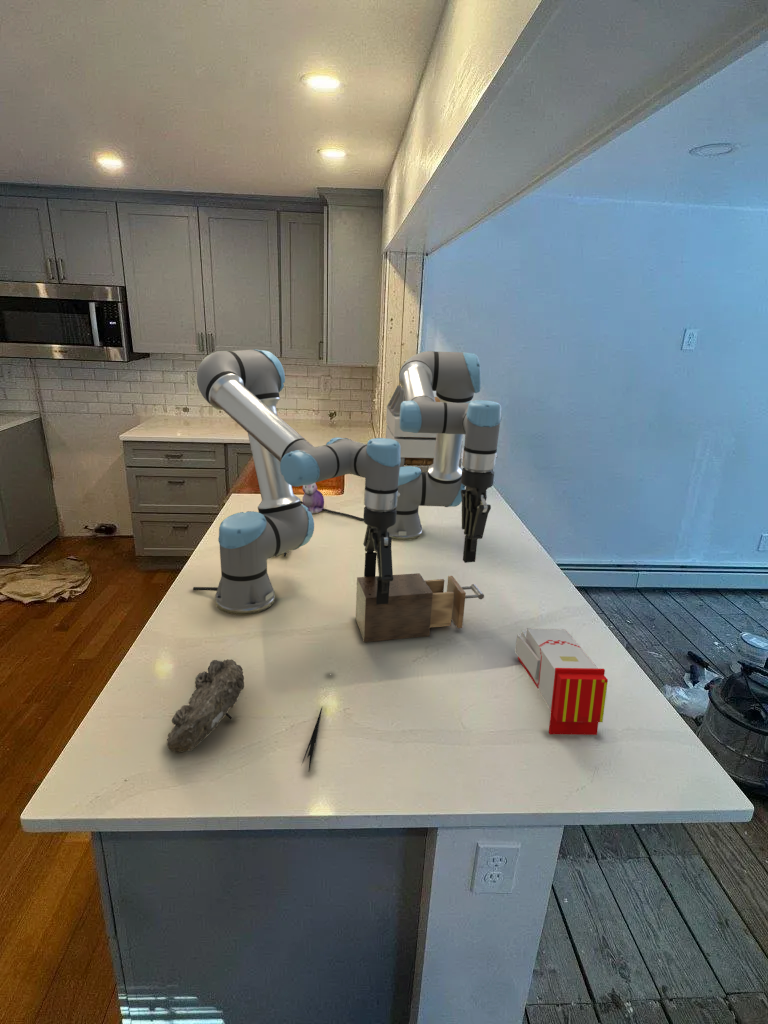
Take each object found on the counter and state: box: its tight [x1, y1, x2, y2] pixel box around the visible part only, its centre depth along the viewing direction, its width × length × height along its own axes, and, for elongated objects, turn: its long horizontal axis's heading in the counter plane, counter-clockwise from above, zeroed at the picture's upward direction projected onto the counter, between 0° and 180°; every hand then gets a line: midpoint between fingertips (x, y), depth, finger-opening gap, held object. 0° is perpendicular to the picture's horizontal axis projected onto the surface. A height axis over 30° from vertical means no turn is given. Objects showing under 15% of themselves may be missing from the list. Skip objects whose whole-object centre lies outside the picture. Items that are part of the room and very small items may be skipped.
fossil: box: [166, 658, 245, 754], centre depth 106 cm, size 22×10×15 cm
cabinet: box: [355, 572, 433, 643], centre depth 139 cm, size 16×11×12 cm, turn 104°
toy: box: [514, 627, 609, 736], centre depth 119 cm, size 12×13×30 cm
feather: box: [301, 673, 332, 771], centre depth 108 cm, size 2×28×2 cm
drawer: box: [424, 575, 485, 629], centre depth 142 cm, size 21×10×10 cm, turn 104°
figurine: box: [301, 482, 325, 515], centre depth 216 cm, size 9×10×15 cm
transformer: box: [385, 384, 464, 470], centre depth 268 cm, size 34×33×41 cm
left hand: (375, 589), depth 137 cm, fingers open, 13 cm apart
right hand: (468, 560), depth 140 cm, fingers closed
